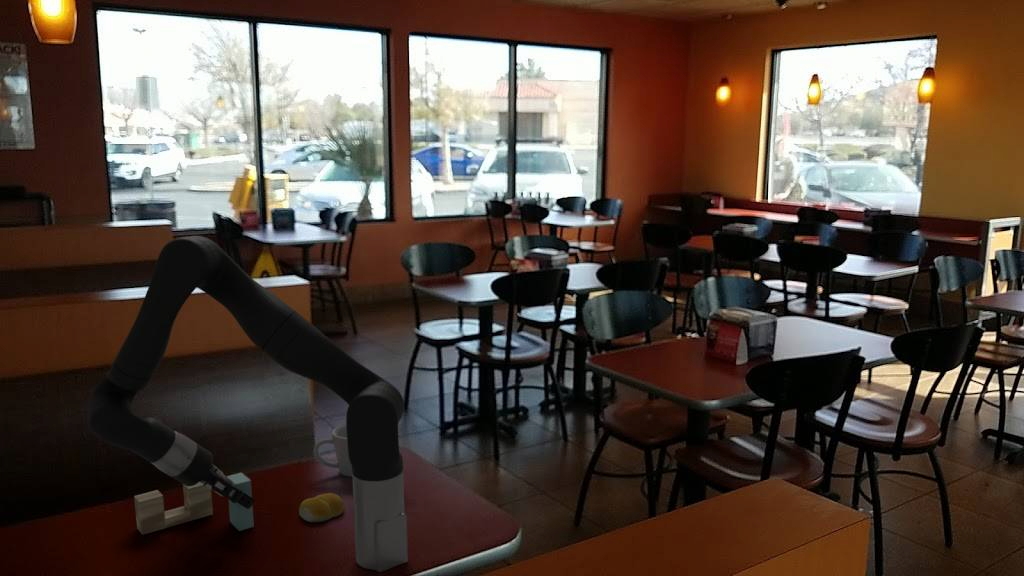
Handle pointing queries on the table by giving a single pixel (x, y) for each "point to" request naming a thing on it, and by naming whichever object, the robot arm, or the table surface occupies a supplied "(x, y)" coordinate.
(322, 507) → the bread roll
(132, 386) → the robot arm
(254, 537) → the table surface
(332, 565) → the table surface
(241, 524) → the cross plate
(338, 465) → the mug
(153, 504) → the slot plate
